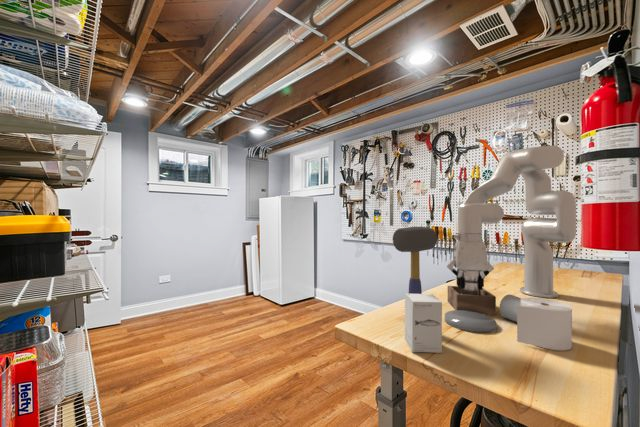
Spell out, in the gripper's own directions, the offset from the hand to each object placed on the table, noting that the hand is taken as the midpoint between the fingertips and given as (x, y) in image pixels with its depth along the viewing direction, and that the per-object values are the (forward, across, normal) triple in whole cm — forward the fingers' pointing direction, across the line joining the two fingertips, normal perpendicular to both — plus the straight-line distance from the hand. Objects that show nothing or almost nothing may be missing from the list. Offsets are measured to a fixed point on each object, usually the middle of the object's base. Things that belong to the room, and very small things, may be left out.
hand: (469, 287), depth 99 cm
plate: (+7, -5, -15) cm, 17 cm away
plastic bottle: (+7, 0, 0) cm, 7 cm away
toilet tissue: (+7, +10, -25) cm, 28 cm away
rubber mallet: (+7, -22, -21) cm, 31 cm away
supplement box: (+7, -22, -33) cm, 40 cm away
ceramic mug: (+7, +12, -11) cm, 17 cm away
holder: (+7, 0, 0) cm, 7 cm away
